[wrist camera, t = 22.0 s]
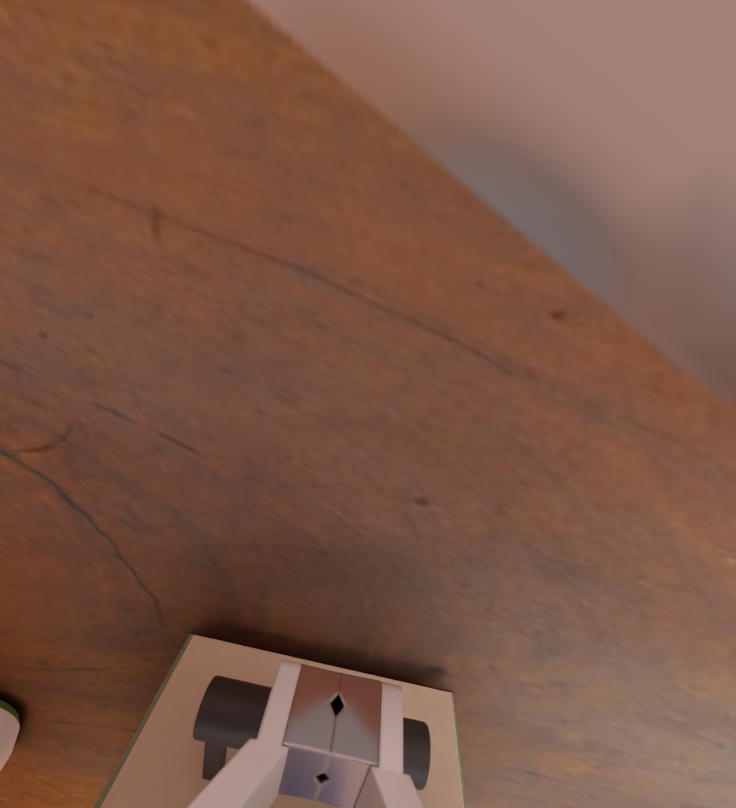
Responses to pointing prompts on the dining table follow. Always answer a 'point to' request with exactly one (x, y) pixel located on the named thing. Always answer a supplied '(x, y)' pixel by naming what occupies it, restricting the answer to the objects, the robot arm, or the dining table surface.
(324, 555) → the dining table surface
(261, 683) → the box drawer
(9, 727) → the cup
